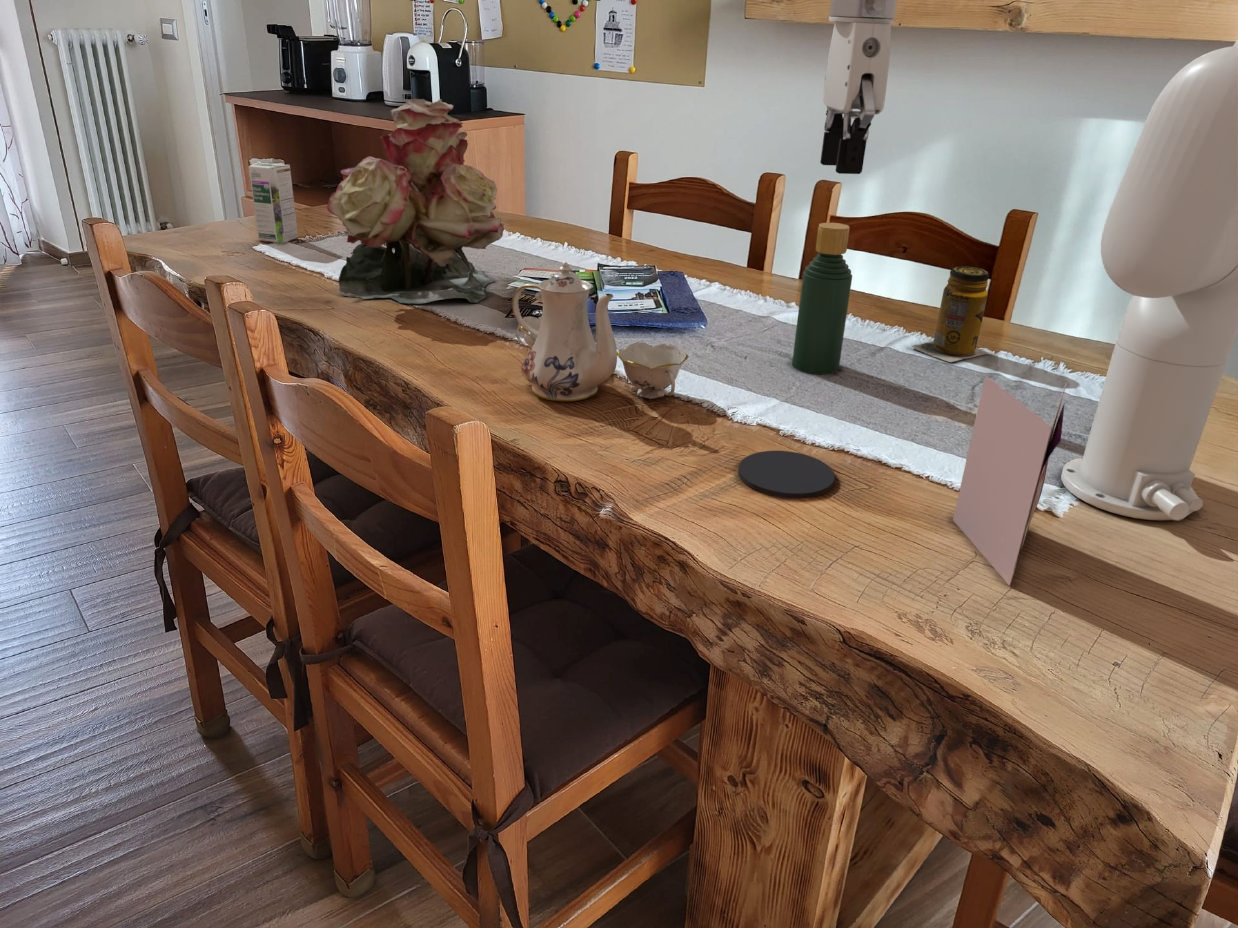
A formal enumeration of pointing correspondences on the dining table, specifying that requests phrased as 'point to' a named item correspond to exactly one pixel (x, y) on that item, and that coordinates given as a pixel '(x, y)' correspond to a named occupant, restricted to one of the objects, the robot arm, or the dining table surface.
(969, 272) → the condiment
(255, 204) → the syrup box
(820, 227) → the cap
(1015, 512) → the greeting card
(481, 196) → the rose bouquet
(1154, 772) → the dining table surface
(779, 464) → the coaster
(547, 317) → the chinaware
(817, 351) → the bottle
